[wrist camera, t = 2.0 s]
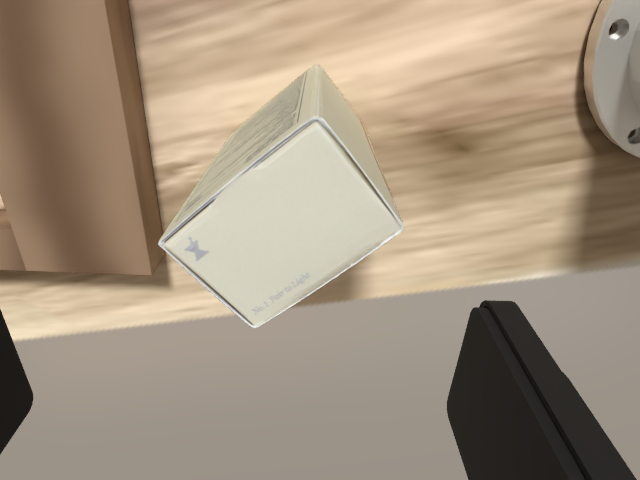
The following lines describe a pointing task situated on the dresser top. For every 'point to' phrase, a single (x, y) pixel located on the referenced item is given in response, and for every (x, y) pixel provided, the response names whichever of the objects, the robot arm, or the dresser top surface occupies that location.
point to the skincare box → (285, 203)
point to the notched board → (74, 141)
